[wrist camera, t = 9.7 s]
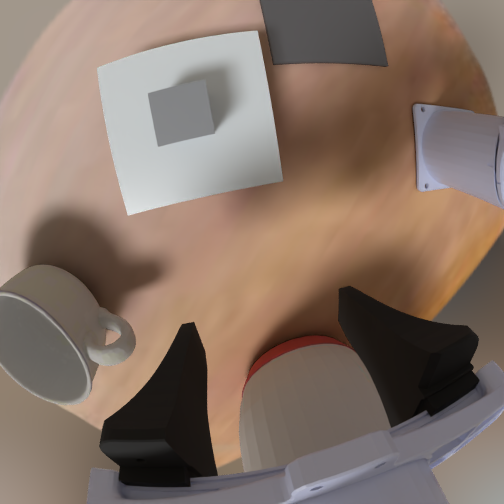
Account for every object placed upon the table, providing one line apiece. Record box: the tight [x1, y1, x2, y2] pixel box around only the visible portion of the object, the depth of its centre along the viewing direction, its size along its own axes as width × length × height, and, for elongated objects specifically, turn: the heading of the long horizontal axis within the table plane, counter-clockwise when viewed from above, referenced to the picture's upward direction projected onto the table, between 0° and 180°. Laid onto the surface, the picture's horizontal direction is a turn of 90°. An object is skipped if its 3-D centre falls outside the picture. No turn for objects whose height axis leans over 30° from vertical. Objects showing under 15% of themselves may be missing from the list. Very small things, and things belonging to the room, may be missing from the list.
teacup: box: [0, 265, 136, 405], centre depth 18 cm, size 14×11×8 cm
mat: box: [260, 0, 388, 67], centre depth 14 cm, size 10×10×1 cm
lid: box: [97, 31, 283, 215], centre depth 12 cm, size 9×9×4 cm
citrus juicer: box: [239, 335, 391, 472], centre depth 20 cm, size 16×17×20 cm
